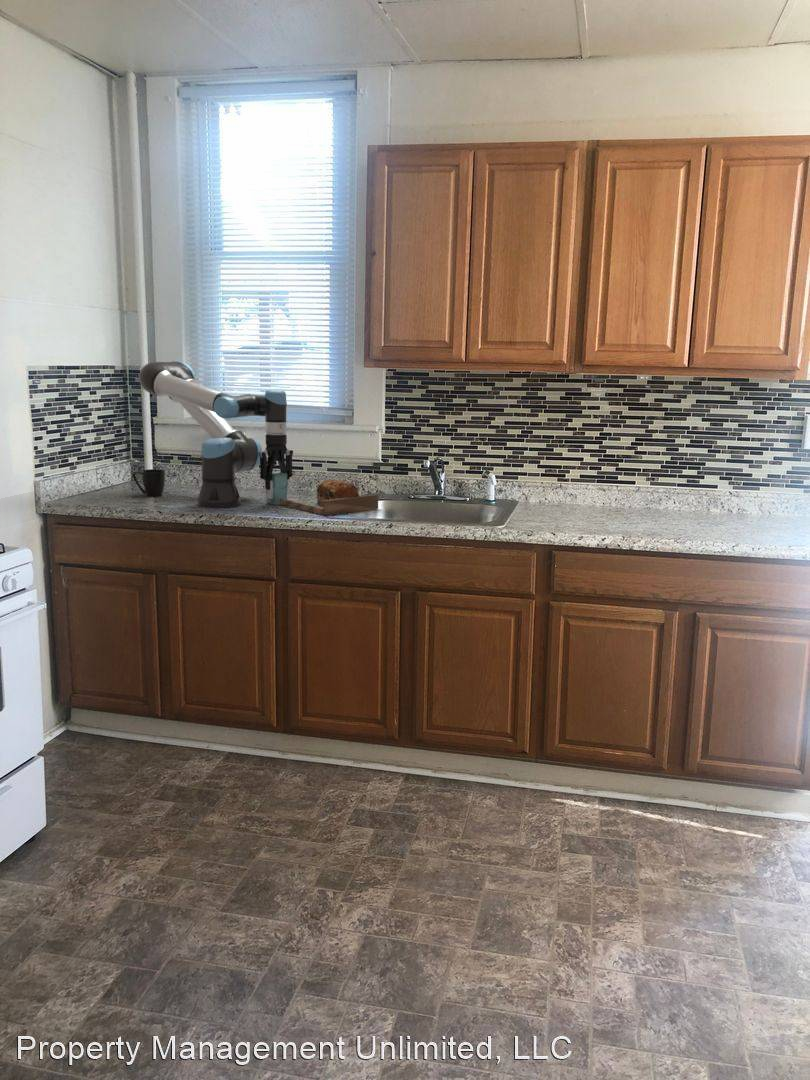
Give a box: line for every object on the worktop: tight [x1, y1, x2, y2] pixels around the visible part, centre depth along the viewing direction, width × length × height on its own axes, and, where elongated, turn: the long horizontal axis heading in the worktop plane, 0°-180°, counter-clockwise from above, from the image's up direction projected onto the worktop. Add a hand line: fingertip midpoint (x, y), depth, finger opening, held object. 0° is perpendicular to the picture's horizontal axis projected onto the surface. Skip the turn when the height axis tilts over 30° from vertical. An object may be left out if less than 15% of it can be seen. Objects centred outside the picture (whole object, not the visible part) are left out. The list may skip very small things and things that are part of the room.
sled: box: [265, 471, 379, 516], centre depth 330 cm, size 33×26×11 cm
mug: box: [132, 468, 166, 498], centre depth 345 cm, size 8×12×10 cm
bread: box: [316, 479, 360, 507], centre depth 328 cm, size 19×11×10 cm, turn 22°
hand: (276, 497), depth 334 cm, fingers closed on sled, 5 cm apart
